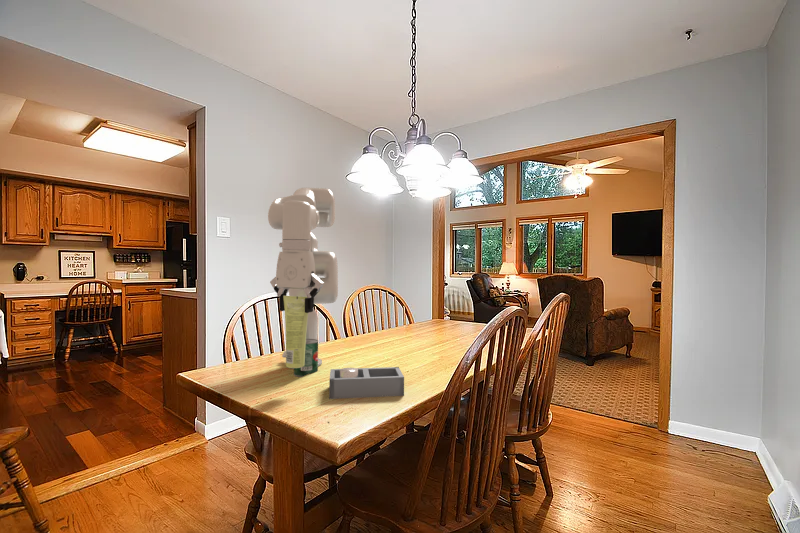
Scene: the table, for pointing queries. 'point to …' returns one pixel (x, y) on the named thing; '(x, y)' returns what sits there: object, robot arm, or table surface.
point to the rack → (367, 383)
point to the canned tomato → (309, 359)
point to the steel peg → (349, 373)
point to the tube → (295, 330)
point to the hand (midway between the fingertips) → (296, 310)
